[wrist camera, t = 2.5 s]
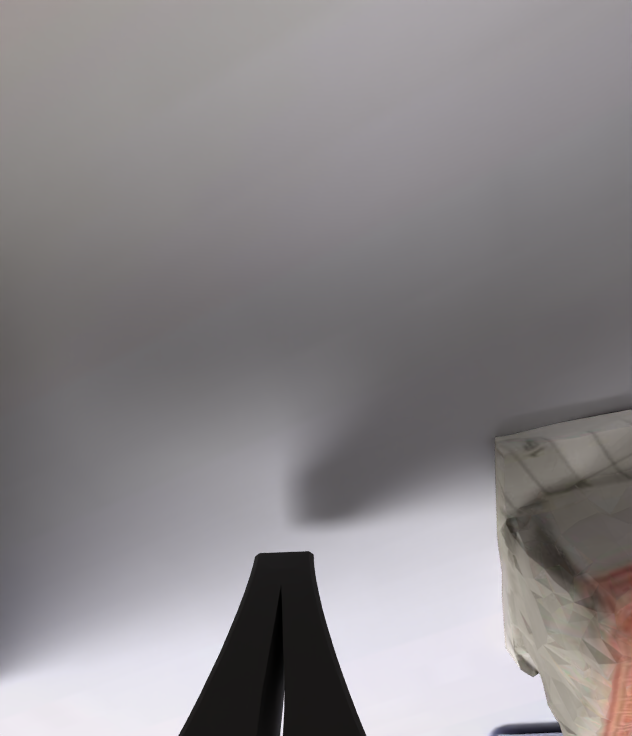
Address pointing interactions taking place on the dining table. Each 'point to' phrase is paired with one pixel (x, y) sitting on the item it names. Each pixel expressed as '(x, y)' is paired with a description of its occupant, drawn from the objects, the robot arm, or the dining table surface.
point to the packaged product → (570, 566)
